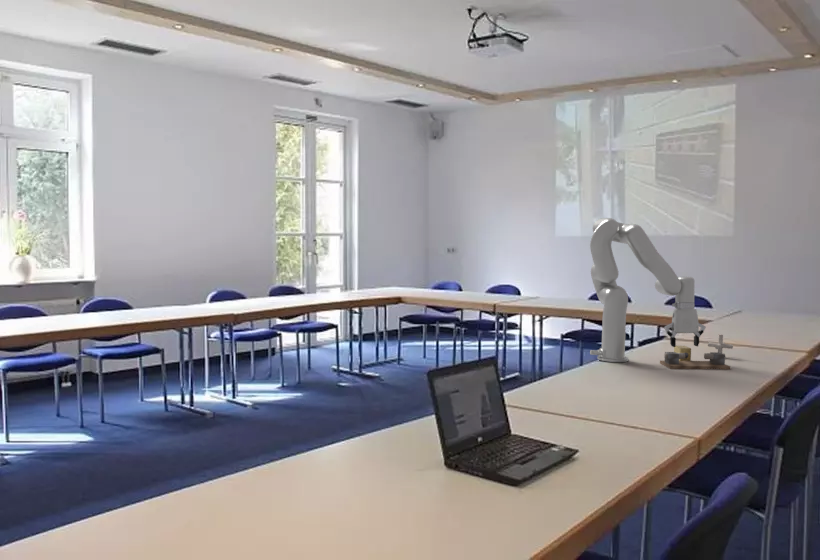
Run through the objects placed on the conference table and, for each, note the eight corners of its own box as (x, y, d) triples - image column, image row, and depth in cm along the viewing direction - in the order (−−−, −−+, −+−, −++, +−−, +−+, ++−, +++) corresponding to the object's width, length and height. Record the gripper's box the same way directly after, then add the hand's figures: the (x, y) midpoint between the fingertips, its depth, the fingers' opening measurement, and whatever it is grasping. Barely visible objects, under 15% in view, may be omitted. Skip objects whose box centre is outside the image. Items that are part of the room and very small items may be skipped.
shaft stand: (670, 368, 295) (670, 355, 295) (659, 363, 307) (660, 350, 307) (730, 369, 296) (730, 356, 295) (717, 363, 308) (717, 351, 307)
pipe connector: (728, 359, 318) (729, 336, 317) (704, 357, 324) (705, 334, 323) (734, 356, 326) (735, 334, 325) (711, 354, 332) (712, 332, 331)
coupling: (690, 362, 311) (691, 348, 311) (679, 362, 311) (680, 348, 310) (684, 359, 318) (684, 345, 318) (673, 359, 318) (674, 345, 318)
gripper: (667, 307, 309) (667, 348, 310) (708, 306, 309) (708, 347, 310) (661, 305, 316) (661, 345, 318) (701, 304, 317) (701, 344, 318)
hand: (684, 346), depth 314 cm, fingers open, 9 cm apart
